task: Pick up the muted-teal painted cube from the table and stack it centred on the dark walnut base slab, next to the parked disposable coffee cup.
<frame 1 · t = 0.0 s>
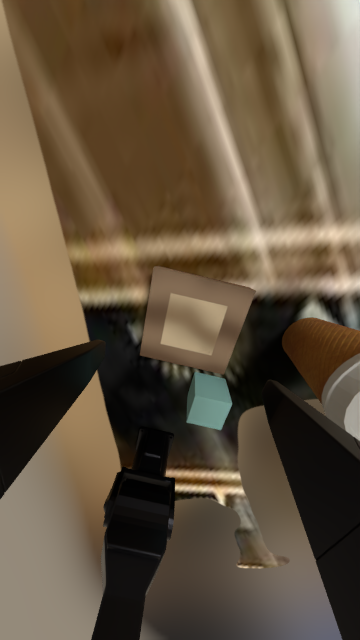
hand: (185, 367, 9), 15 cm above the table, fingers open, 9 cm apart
teal cube: (205, 387, 28), on the table
disposable coffee cup: (304, 338, 24), on the table
walnut base: (192, 319, 24), on the table
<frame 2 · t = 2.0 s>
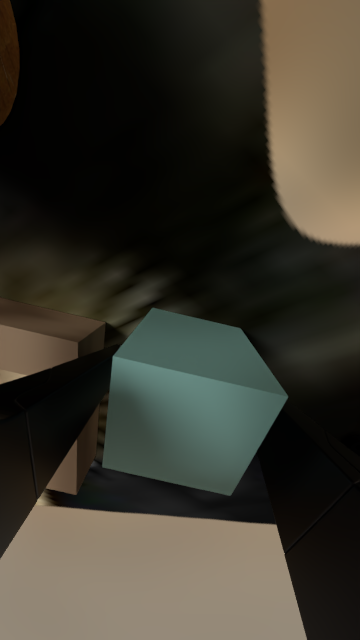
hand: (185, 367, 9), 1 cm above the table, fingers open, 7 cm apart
teal cube: (186, 355, 10), on the table
walnut base: (15, 380, 12), on the table
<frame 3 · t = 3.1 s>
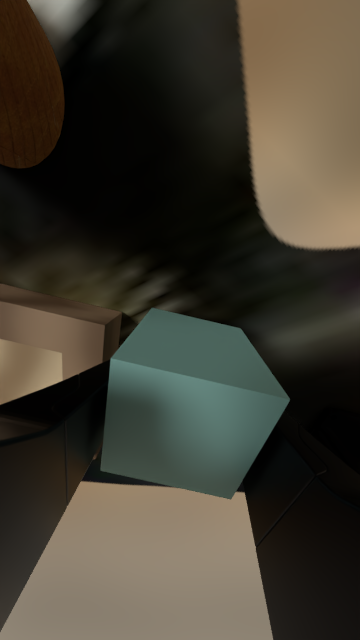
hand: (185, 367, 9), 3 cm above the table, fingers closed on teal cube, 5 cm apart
teal cube: (186, 356, 10), point 2 cm above the table, touching gripper
disposable coffee cup: (6, 92, 8), on the table
walnut base: (42, 363, 14), on the table
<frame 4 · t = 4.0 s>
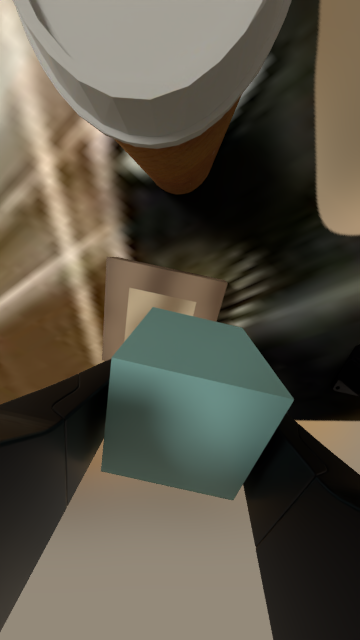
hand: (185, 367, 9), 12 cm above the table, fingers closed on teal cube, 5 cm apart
teal cube: (186, 355, 10), point 11 cm above the table, touching gripper
disposable coffee cup: (179, 154, 15), on the table
walnut base: (161, 318, 21), on the table
when the fingers open (4 cm above the table, at t = 5.8 s): teal cube stays where it is, resting on walnut base.
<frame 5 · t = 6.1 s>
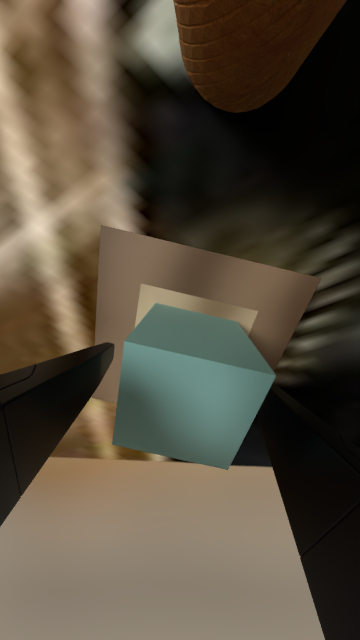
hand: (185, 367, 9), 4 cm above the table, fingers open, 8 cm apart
teal cube: (187, 347, 11), point 2 cm above the table, touching walnut base
disposable coffee cup: (245, 26, 8), on the table
walnut base: (186, 333, 13), on the table
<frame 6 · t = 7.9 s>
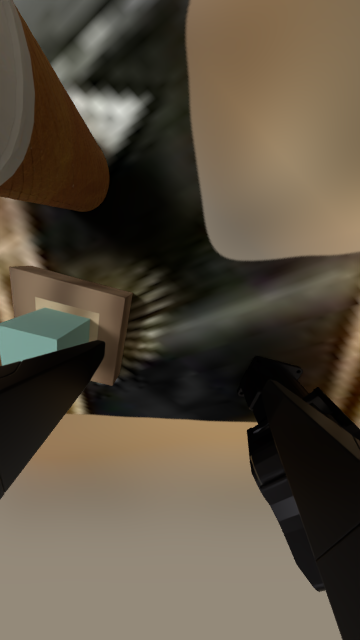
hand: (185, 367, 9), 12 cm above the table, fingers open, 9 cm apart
teal cube: (67, 333, 19), point 2 cm above the table, touching walnut base
disposable coffee cup: (78, 174, 16), on the table
walnut base: (80, 325, 22), on the table
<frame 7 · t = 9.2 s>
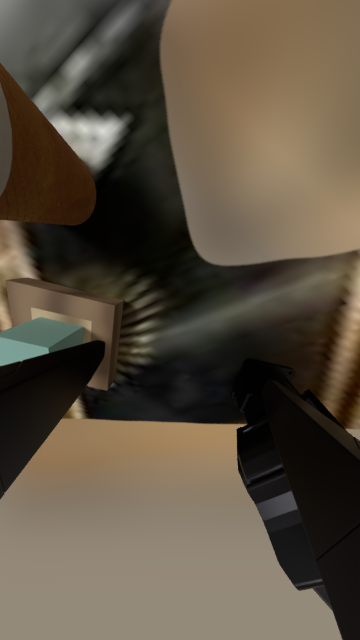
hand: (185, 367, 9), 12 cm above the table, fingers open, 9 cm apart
teal cube: (62, 340, 20), point 2 cm above the table, touching walnut base
disposable coffee cup: (67, 191, 17), on the table
walnut base: (75, 332, 23), on the table
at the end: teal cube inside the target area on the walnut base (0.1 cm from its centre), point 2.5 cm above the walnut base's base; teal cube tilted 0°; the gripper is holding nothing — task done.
